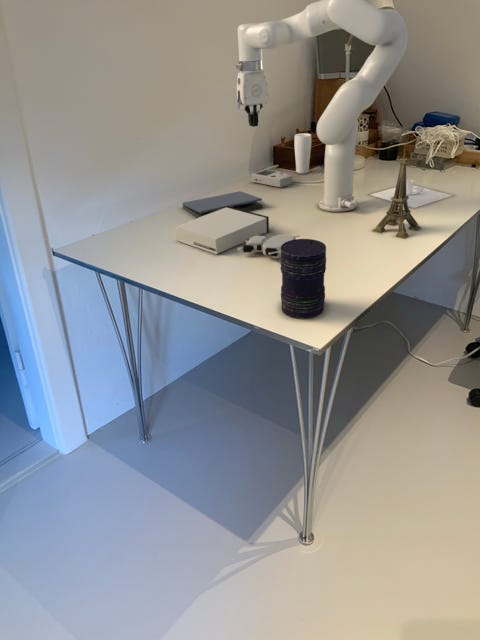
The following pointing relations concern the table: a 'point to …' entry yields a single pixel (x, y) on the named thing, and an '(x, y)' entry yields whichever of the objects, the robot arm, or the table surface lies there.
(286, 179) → the handheld gaming device
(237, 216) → the disc drive
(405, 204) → the eiffel tower
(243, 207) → the dark grey flat slab
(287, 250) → the dark blue cylinder
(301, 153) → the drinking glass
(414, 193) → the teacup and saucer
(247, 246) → the robot toy
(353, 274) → the table surface
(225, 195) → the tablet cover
